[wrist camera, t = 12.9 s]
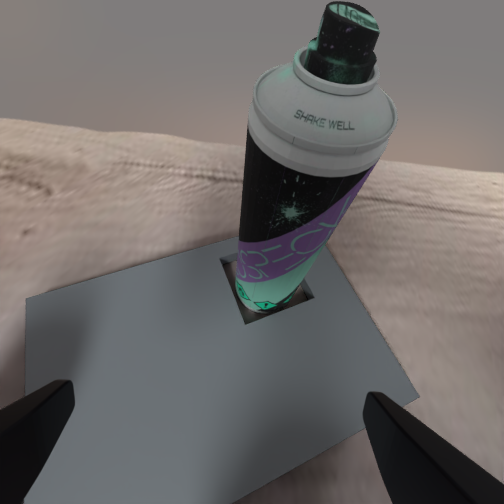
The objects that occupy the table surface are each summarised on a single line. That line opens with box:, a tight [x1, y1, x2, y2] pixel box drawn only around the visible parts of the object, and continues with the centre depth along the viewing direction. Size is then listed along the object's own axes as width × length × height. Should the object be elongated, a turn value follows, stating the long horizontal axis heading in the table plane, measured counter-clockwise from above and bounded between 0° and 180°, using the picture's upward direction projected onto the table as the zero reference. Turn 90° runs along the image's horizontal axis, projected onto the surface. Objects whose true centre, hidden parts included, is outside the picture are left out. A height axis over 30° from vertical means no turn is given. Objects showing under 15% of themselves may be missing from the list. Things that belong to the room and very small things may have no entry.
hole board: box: [24, 236, 420, 504], centre depth 21 cm, size 18×26×2 cm
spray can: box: [235, 1, 398, 314], centre depth 16 cm, size 6×6×20 cm
